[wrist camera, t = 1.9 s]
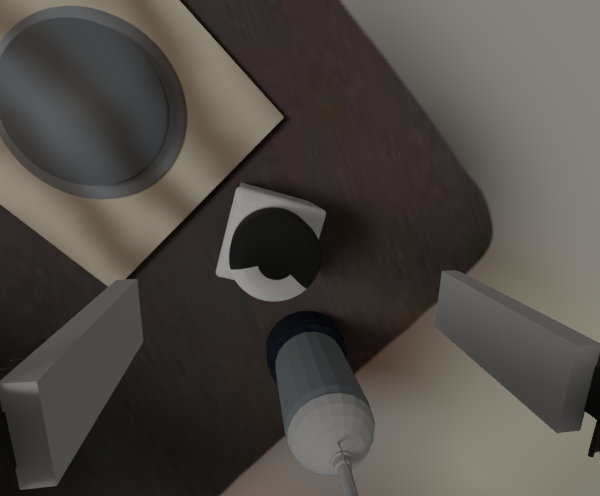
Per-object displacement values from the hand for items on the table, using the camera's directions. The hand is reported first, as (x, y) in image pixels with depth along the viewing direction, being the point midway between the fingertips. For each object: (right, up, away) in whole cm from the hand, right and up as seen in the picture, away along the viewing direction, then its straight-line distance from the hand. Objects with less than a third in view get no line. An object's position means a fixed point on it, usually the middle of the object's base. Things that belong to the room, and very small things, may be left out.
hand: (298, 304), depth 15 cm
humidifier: (0, -8, +22) cm, 24 cm away
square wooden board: (-17, +14, +14) cm, 26 cm away
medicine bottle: (-3, +4, +18) cm, 19 cm away
